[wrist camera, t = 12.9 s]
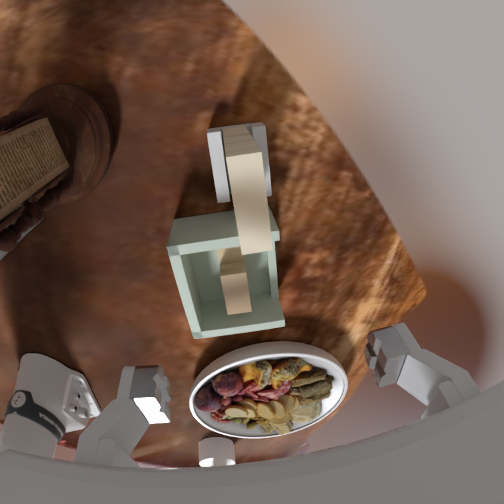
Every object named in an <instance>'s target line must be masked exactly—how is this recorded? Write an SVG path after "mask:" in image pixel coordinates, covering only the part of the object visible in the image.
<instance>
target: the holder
mask: <svg viewBox="0 0 504 504" xmlns="http://www.w3.org/2000/svg"><path fill="white" fill-rule="evenodd" d="M241 125H245V126H246V128H247V129H248V131H249V133H250V134H251V136H252V137H253V139H254V141H255V142H256V144H257V145H258V147H259V149H260V150H261V152H262V159H263V168H264V176H265V184H266V193H267V196H272V191H271V180H270V168H269V158H268V147H267V137H266V126H265V125H264V124H263V123H261V122H256V123H248V124H239V125H232V126H224V127H217V128H211V129H208V131H207V137H208V143H209V150H210V157H211V163H212V170H213V176H214V183H215V189H216V195H217V201H218V203H222V202H229V201H230V195H229V194H232V192H231V186H230V180H229V174H228V168H227V162H226V155H225V146H224V138H223V130H222V128H228V127H234V126H241Z"/></svg>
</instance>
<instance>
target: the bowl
mask: <svg viewBox="0 0 504 504" xmlns="http://www.w3.org/2000/svg"><path fill="white" fill-rule="evenodd" d="M347 389H348V379H347V376H346V373H345V371H344V369H343V367H342V365H341V364H340V363H339V361H338V360H337V359H336V358H335V357H333V356H332V355H331V354H329V353H328V352H326V351H324V350H322V349H320V348H318V347H315V346H312V345H309V344H305V343H299V342H290V341H275V342H264V343H258V344H253V345H249V346H245V347H242V348H239V349H236V350H233V351H231V352H229V353H227V354H224V355H223V356H221V357H219V358H217V359H216V360H214V361H213V362H211V363H210V364H209V365H208V366H206V367H205V368H204V369H203V370H202V371H201V372H200V374H199V375H198V376H197V378H196V379H195V381H194V383H193V385H192V388H191V391H190V398H189V405H190V410H191V412H192V414H193V416H194V417H195V419H196V420H197V421H198V422H199V423H201V424H202V425H203V426H205V427H207V428H208V429H210V430H212V431H215V432H217V433H220V434H224V435H228V436H232V437H239V438H268V437H275V436H281V435H285V434H289V433H293V432H296V431H299V430H301V429H304V428H306V427H309V426H311V425H313V424H315V423H317V422H318V421H320V420H322V419H323V418H325V417H326V416H328V415H329V414H330V413H331V412H333V411H334V410H335V409H336V408H337V407H338V405H339V404H340V403H341V402H342V400H343V399H344V397H345V395H346V392H347Z"/></svg>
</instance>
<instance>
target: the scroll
mask: <svg viewBox="0 0 504 504" xmlns="http://www.w3.org/2000/svg"><path fill="white" fill-rule="evenodd" d="M8 129H10V130H9V131H8V132H7V133H6V134H4V135H3V136H1V137H0V250H2V251H3V252H10V251H12V250H13V249H14V248H15V247H16V245H17V241H19V240H20V239H21V234H22V233H25V232H27V231H28V230H29V228H32V227H34V226H35V225H36V224H38V223H39V222H40V221H41V220H42V218H43V213H44V211H47V210H48V209H49V208H50V207H52V206H55V205H56V204H68V203H72V202H75V201H78V200H80V199H82V198H83V197H85V196H86V195H88V194H89V193H90V192H91V191H92V190H93V189H94V188H95V187H96V186H97V185H98V184H99V183H100V182H101V180H102V179H103V177H104V175H105V174H106V172H107V170H108V167H109V164H110V161H111V158H112V152H113V132H112V126H111V123H110V120H109V117H108V114H107V112H106V110H105V109H104V107H103V106H102V104H101V103H100V102H99V100H98V99H97V98H96V97H95V96H94V95H93V94H91V93H90V92H89V91H87V90H86V89H84V88H82V87H79V86H76V85H72V84H54V85H49V86H46V87H43V88H41V89H39V90H37V91H35V92H34V93H32V94H31V95H30V96H29V97H28V98H27V99H26V100H25V101H24V102H23V103H22V104H21V105H20V107H19V108H18V110H17V111H13V112H11V113H10V114H9V115H6V116H3V117H2V118H1V119H0V131H1V130H3V131H6V130H8ZM33 197H35V198H37V199H39V200H38V202H37V203H33V202H29V200H30V199H31V198H33ZM19 205H20V206H21V207H19V208H18V209H16V210H15V211H13V210H14V209H15V208H16V207H18V206H19ZM12 211H13V212H12ZM11 212H12V213H11ZM20 214H21V216H19V215H20ZM18 216H19V217H18ZM17 217H18V218H17ZM16 218H17V220H16V222H15V224H10V223H11V222H12V221H14V220H15V219H16ZM9 224H10V225H9ZM8 225H9V226H8ZM7 226H8V228H5V227H7ZM4 228H5V229H4Z"/></svg>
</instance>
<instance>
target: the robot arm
mask: <svg viewBox="0 0 504 504" xmlns="http://www.w3.org/2000/svg"><path fill="white" fill-rule="evenodd" d="M367 339H368V341H369V342H368V343H367V345H366V347H365V358H366V362H367V364H368V366H369V367H370V368H371V369H373V370H374V372H373V377H374V379H375V381H376V384H377V386H378V387H382V386H386V385H389V384H393V383H397V384H398V385H399V386H401V387H402V388H404V389H405V390H406V391H408V392H409V393H410V394H412V395H413V396H414V397H416V398H417V399H419V400H420V401H421V402H422V403H424V404H425V405H427V408H426V409H425V411H424V413H423V414H422V416H421V420H418V421H416V422H413V423H410V424H408V425H405V426H403V427H399V428H397V429H394V430H391V431H388V432H385V433H382V434H379V435H375V436H372V437H369V438H366V439H362V440H359V441H355V442H352V443H348V444H344V445H341V446H336V447H332V448H328V449H324V450H320V451H315V452H311V453H306V454H301V455H296V456H290V457H285V458H279V459H273V460H266V461H259V462H251V463H243V464H234V465H223V466H210V467H191V468H139V465H138V464H137V463H136V462H135V461H134V460H133V459H132V458H131V457H130V456H129V455H130V454H131V452H132V451H133V449H134V448H135V446H136V445H137V443H138V442H139V440H140V439H141V437H142V436H143V434H144V433H145V431H146V430H147V428H148V427H149V425H150V424H149V423H166V422H170V407H169V405H168V402H169V401H170V400H171V386H170V383H169V380H168V378H167V377H166V376H164V370H163V368H162V366H161V365H149V366H127V367H124V368H123V370H122V374H121V379H120V384H119V389H118V394H117V399H113V400H112V401H111V403H110V404H109V405H108V406H107V407H106V408H105V409H104V410H103V411H102V412H101V409H100V407H99V405H98V403H97V401H96V399H95V397H94V395H93V393H92V391H91V389H90V387H89V385H88V382H87V380H86V378H85V376H84V375H83V374H81V373H79V372H77V371H74V370H71V369H69V368H67V367H66V366H64V365H63V364H61V363H60V362H58V361H56V360H54V359H52V358H50V357H48V356H45V355H41V354H36V353H28V354H25V355H23V356H22V358H21V360H20V368H19V371H18V374H17V375H18V377H17V381H16V385H15V389H14V393H13V396H12V397H11V399H10V401H9V403H8V406H7V408H6V412H5V421H4V424H3V427H2V430H1V433H0V504H504V380H503V381H501V382H499V383H497V384H496V385H494V386H492V387H490V388H488V389H486V390H484V391H483V392H480V391H479V389H478V387H477V386H476V384H475V383H474V381H473V379H472V378H471V376H470V375H469V373H468V372H467V371H466V370H464V369H462V368H460V367H458V366H456V365H454V364H453V363H451V362H449V361H447V360H445V359H443V358H441V357H439V356H437V355H435V354H433V353H431V352H430V351H428V350H426V349H422V350H421V348H420V346H419V345H418V343H417V342H416V340H415V339H414V337H413V336H412V334H411V333H410V331H409V329H408V328H407V326H406V325H405V324H404V323H400V324H396V325H392V326H387V327H384V328H380V329H376V330H372V331H370V332H369V333H368V337H367ZM96 416H98V417H97V418H96V419H95V420H94V421H93V422H92V423H91V424H90V425H89V426H88V427H87V428H86V430H85V431H84V432H83V433H82V434H81V435H80V437H79V441H78V446H77V451H76V457H75V462H71V461H65V460H59V459H54V454H55V449H56V444H61V445H65V444H63V443H61V442H66V440H61V439H62V437H63V436H64V434H65V433H66V432H70V431H75V430H80V429H83V428H85V427H86V425H87V423H88V420H89V417H96Z"/></svg>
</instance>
